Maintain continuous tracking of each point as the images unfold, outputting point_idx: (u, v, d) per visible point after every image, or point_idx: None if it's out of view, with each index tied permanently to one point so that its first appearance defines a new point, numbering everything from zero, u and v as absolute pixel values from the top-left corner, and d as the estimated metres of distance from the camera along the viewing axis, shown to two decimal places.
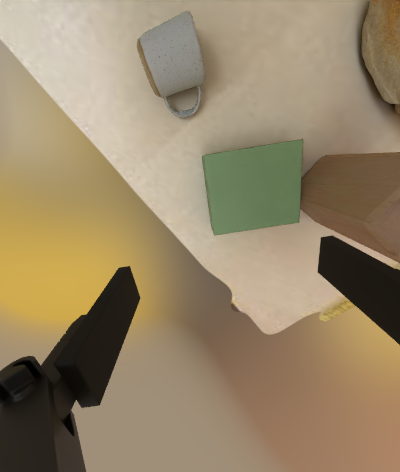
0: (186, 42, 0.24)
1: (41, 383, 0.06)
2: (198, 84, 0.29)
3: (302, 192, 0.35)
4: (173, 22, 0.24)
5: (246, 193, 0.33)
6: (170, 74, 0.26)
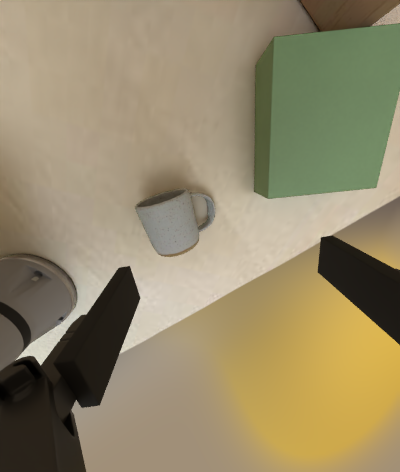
0: (164, 215, 0.23)
1: (41, 383, 0.06)
2: (190, 197, 0.27)
3: (355, 21, 0.19)
4: (147, 225, 0.24)
5: (331, 136, 0.22)
6: (187, 231, 0.25)
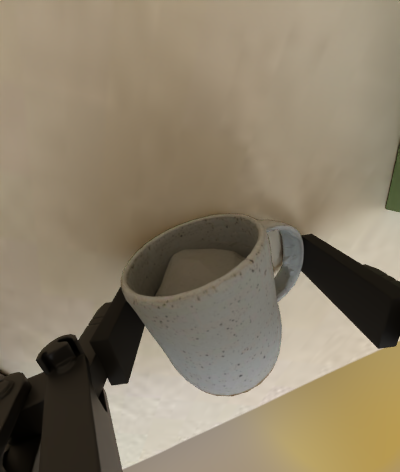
0: (214, 322, 0.07)
1: (80, 360, 0.07)
2: None
3: None
4: (158, 337, 0.08)
5: None
6: (270, 339, 0.09)
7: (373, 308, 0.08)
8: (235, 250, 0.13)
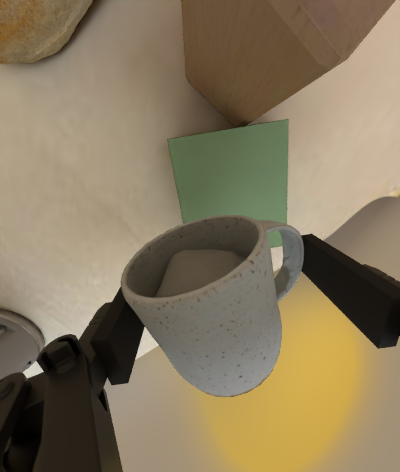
0: (214, 323, 0.07)
1: (80, 360, 0.07)
2: None
3: (239, 118, 0.22)
4: (158, 338, 0.08)
5: (235, 209, 0.25)
6: (270, 340, 0.09)
7: (373, 308, 0.08)
8: (235, 251, 0.13)
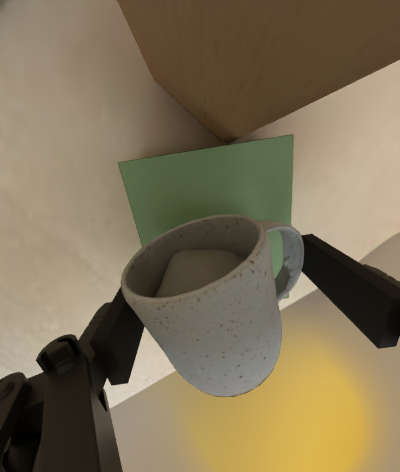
0: (214, 324, 0.07)
1: (80, 360, 0.07)
2: None
3: (223, 132, 0.16)
4: (158, 338, 0.08)
5: None
6: (270, 340, 0.09)
7: (373, 308, 0.08)
8: (235, 251, 0.13)
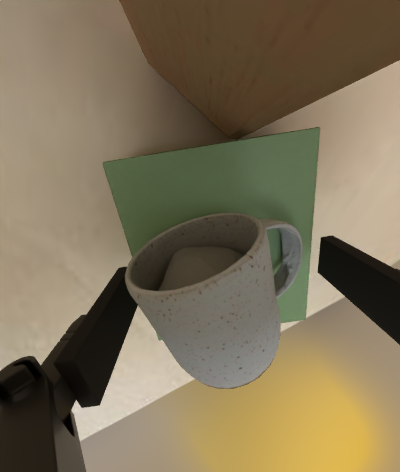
0: (215, 316, 0.07)
1: (41, 383, 0.06)
2: None
3: (232, 125, 0.13)
4: (161, 330, 0.09)
5: None
6: (269, 333, 0.09)
7: None
8: (235, 248, 0.13)
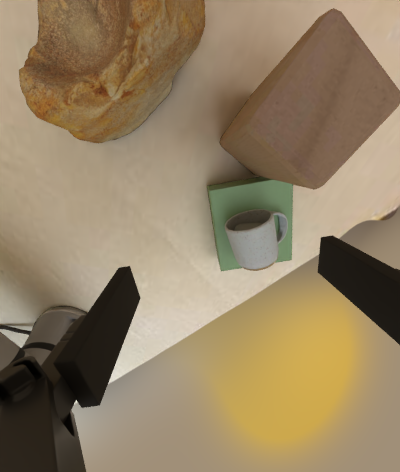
0: (259, 237, 0.27)
1: (41, 383, 0.06)
2: None
3: (258, 174, 0.32)
4: (241, 245, 0.28)
5: None
6: (274, 247, 0.29)
7: None
8: None
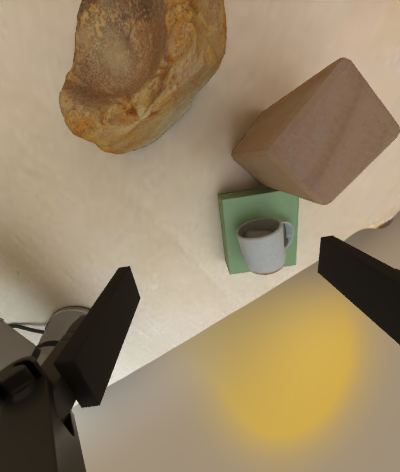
0: (269, 244, 0.29)
1: (41, 383, 0.06)
2: None
3: (267, 185, 0.35)
4: (252, 251, 0.31)
5: None
6: (282, 254, 0.31)
7: None
8: (268, 231, 0.35)
